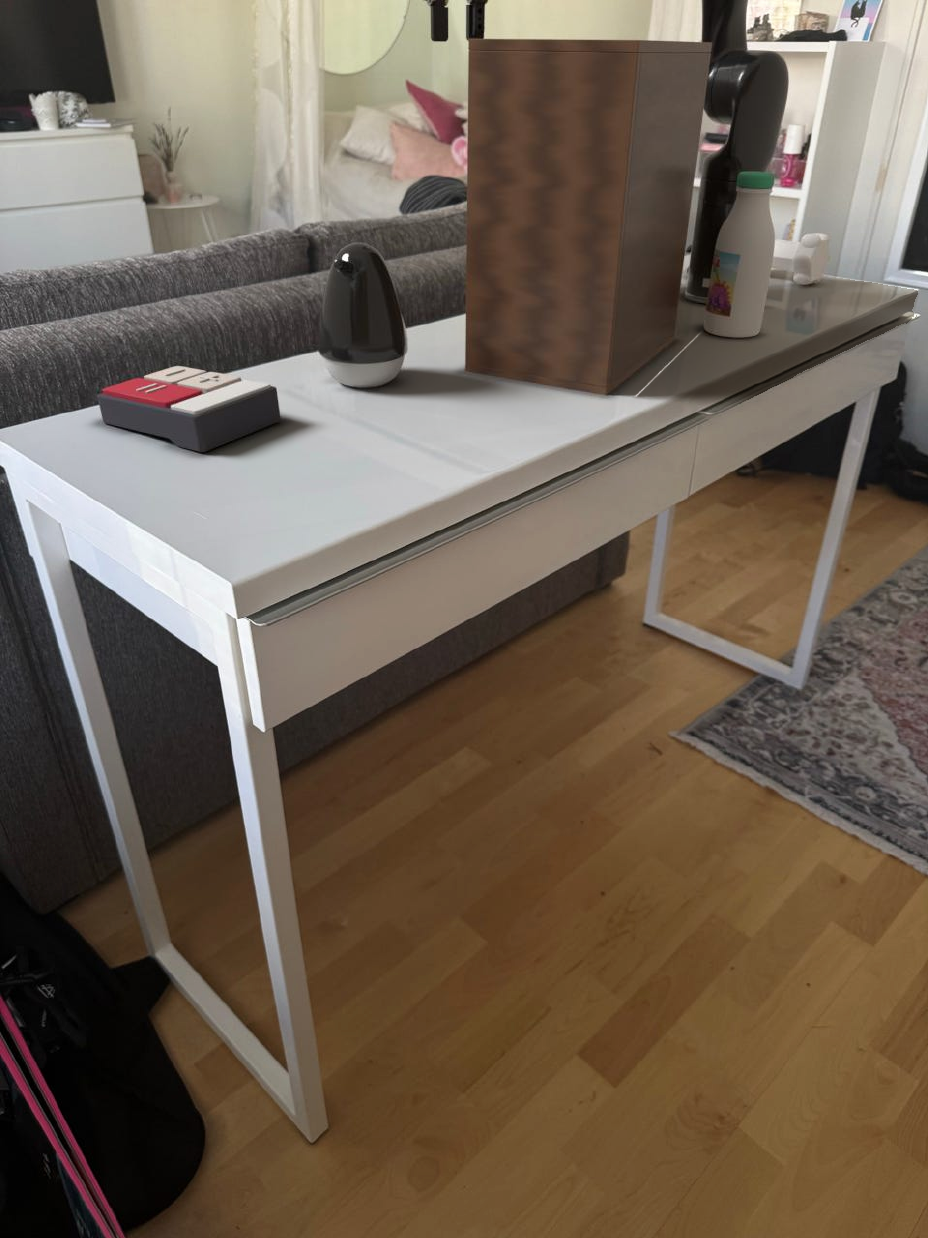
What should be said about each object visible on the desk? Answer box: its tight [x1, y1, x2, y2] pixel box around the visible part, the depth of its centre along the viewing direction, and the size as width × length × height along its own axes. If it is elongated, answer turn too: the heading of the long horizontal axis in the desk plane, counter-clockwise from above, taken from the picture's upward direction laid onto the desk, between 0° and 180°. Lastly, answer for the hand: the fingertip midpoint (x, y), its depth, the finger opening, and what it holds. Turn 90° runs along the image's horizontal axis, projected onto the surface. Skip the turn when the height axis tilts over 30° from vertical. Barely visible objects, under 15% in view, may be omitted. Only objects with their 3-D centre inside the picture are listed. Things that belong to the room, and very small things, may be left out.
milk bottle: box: [703, 171, 776, 338], centre depth 123 cm, size 8×8×20 cm
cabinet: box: [464, 38, 712, 396], centre depth 108 cm, size 18×26×34 cm
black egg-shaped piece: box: [317, 242, 409, 389], centre depth 103 cm, size 10×10×15 cm
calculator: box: [96, 365, 282, 453], centre depth 94 cm, size 11×4×15 cm
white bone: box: [771, 232, 831, 286], centre depth 155 cm, size 15×9×8 cm, turn 47°
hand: (456, 41), depth 116 cm, fingers open, 8 cm apart
